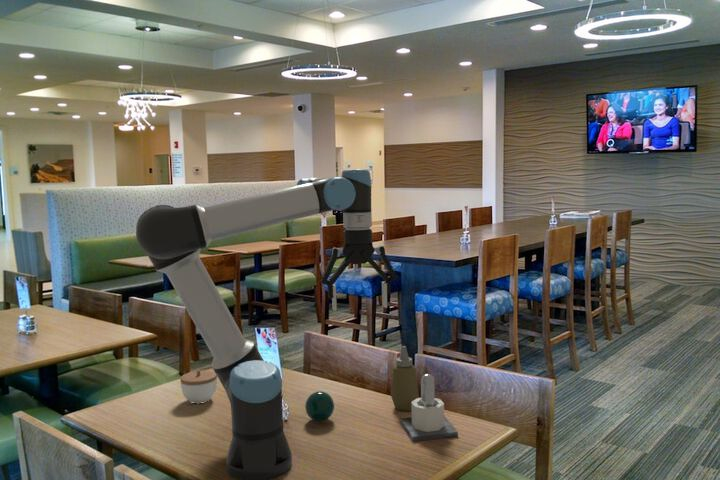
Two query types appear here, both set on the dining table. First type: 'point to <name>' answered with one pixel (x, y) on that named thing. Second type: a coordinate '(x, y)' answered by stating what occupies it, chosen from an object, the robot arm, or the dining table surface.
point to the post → (428, 401)
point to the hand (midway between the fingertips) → (359, 308)
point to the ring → (427, 416)
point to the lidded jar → (199, 385)
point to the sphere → (319, 406)
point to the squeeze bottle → (404, 382)
